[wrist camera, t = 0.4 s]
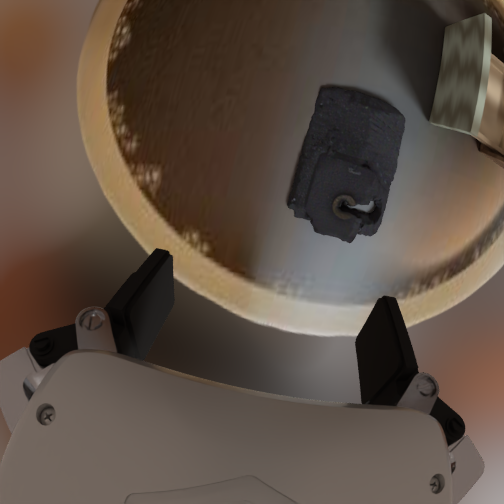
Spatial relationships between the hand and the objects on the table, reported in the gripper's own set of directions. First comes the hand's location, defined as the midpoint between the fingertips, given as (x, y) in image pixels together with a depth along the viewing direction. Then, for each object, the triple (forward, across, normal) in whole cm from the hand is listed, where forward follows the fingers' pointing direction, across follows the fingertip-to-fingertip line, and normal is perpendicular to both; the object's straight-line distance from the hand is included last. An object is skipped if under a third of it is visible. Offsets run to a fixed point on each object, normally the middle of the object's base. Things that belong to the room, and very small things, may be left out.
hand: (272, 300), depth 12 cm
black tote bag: (+31, -9, -1) cm, 32 cm away
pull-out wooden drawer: (+30, -27, -20) cm, 45 cm away
